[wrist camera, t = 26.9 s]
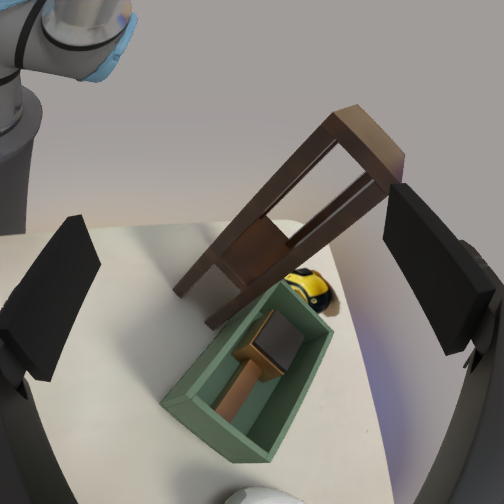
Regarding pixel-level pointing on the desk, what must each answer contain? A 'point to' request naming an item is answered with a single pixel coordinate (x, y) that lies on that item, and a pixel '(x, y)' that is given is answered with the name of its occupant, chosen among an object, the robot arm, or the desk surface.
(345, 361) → the desk surface
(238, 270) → the brown wooden stand
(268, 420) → the bin
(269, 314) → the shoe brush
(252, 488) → the training shoe
